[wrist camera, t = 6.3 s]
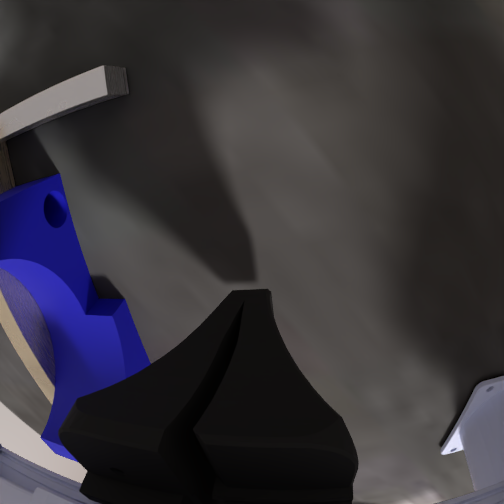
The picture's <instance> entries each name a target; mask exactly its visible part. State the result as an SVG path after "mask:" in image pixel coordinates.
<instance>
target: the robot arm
mask: <svg viewBox="0 0 504 504" xmlns="http://www.w3.org/2000/svg"><path fill="white" fill-rule="evenodd" d="M58 436H59V439H60V441H61V443H62V444H63V446H64V447H65V448H66V449H67V451H68V452H69V453H70V454H71V455H72V456H73V457H74V458H75V459H76V460H77V461H78V462H79V463H80V464H81V465H82V466H83V467H84V468H85V469H86V470H87V471H88V472H87V474H86V476H85V478H84V480H83V483H82V484H81V483H78V482H76V481H73V480H71V479H68V478H66V477H63V476H61V475H59V474H56V473H54V472H52V471H50V470H47V469H45V468H43V467H41V466H39V465H37V464H35V463H32V462H30V461H28V460H26V459H24V458H23V457H21V456H19V455H17V454H15V453H13V452H11V451H9V450H8V449H6V448H4V447H2V446H1V444H0V504H352V500H353V482H354V479H355V476H356V473H357V470H358V457H357V452H356V449H355V446H354V443H353V440H352V438H351V436H350V433H349V431H348V429H347V427H346V425H345V423H344V421H343V419H342V417H341V416H340V415H339V414H338V413H337V412H336V411H334V410H333V409H332V408H331V407H330V406H329V405H328V404H327V403H326V402H325V401H324V399H323V398H322V397H321V396H320V395H319V394H318V393H317V392H316V390H315V389H314V388H313V387H312V386H311V384H310V383H309V382H308V380H307V379H306V378H305V376H304V375H303V374H302V372H301V371H300V370H299V368H298V366H297V365H296V363H295V362H294V360H293V358H292V357H291V355H290V353H289V351H288V350H287V348H286V346H285V344H284V342H283V339H282V337H281V335H280V333H279V330H278V328H277V325H276V322H275V319H274V313H273V304H272V296H271V291H269V290H268V289H256V290H232V292H231V293H230V294H229V295H228V296H227V297H226V298H225V299H224V300H223V301H222V302H221V303H220V305H219V306H218V307H217V308H216V309H215V310H214V311H213V312H212V313H211V314H210V315H209V317H208V318H207V319H206V320H205V321H204V322H203V323H202V324H201V325H200V326H199V327H198V328H197V329H196V330H194V331H193V332H192V333H191V334H190V335H189V336H188V337H187V338H186V339H185V340H184V341H182V342H181V343H180V344H179V345H178V346H176V347H175V348H174V349H172V350H171V351H170V352H168V353H167V354H166V355H164V356H163V357H161V358H160V359H158V360H157V361H155V362H154V363H152V364H150V365H149V366H147V367H146V368H144V369H142V370H141V371H139V372H137V373H136V374H134V375H132V376H130V377H128V378H126V379H124V380H122V381H120V382H118V383H115V384H113V385H111V386H109V387H106V388H104V389H101V390H98V391H96V392H93V393H90V394H88V395H85V396H82V397H79V398H77V400H76V401H75V403H74V405H73V406H72V408H71V410H70V411H69V413H68V415H67V416H66V418H65V420H64V422H63V423H62V425H61V427H60V429H59V430H58ZM460 450H464V453H465V456H466V460H467V463H468V467H469V471H470V475H471V479H472V483H473V487H474V491H475V492H472V493H469V494H466V495H463V496H460V497H456V498H453V499H449V500H446V501H442V502H439V503H435V504H504V376H501V377H497V378H493V379H490V380H486V381H482V382H480V383H479V384H478V385H477V386H476V387H475V389H474V391H473V393H472V395H471V397H470V399H469V401H468V403H467V405H466V406H465V408H464V410H463V412H462V414H461V416H460V418H459V419H458V421H457V423H456V425H455V426H454V428H453V430H452V431H451V433H450V435H449V437H448V438H447V440H446V441H445V443H444V445H443V446H442V448H441V450H440V451H441V454H443V455H444V454H449V453H453V452H457V451H460Z"/></svg>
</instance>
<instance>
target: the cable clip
mask: <svg viewBox="0 0 504 504" xmlns="http://www.w3.org/2000/svg"><path fill="white" fill-rule="evenodd" d="M0 268H1V269H4V270H5V271H7V272H9V273H10V274H12V275H13V276H14V277H15V278H17V279H18V280H19V281H20V282H21V283H22V284H23V285H24V286H25V287H26V289H27V290H28V291H29V292H30V293H31V295H32V296H33V298H34V299H35V301H36V303H37V304H38V306H39V308H40V310H41V312H42V314H43V316H44V319H45V321H46V324H47V327H48V330H49V333H50V337H51V341H52V346H53V352H54V360H55V391H54V399H53V404H52V409H51V413H50V416H49V419H48V422H47V425H46V427H45V429H44V431H43V433H42V435H41V439H42V440H43V441H44V442H45V443H46V444H47V445H48V446H49V447H50V448H51V449H52V450H53V452H54V453H56V454H58V455H60V456H63V457H66V458H68V459H71V460H74V461H77V460H76V459H75V458H74V457H73V456H72V455H71V454H70V453H69V452H68V451H67V449H66V448H65V447H64V446H63V444H62V443H61V441H60V439H59V436H58V430H59V429H60V427H61V425H62V423H63V422H64V420H65V418H66V416H67V415H68V413H69V411H70V410H71V408H72V406H73V405H74V403H75V401H76V400H77V398H79V397H82V396H85V395H88V394H90V393H93V392H96V391H98V390H101V389H104V388H106V387H109V386H111V385H113V384H115V383H118V382H120V381H122V380H124V379H126V378H128V377H130V376H132V375H134V374H136V373H137V372H139V371H141V370H142V369H144V368H146V367H147V366H149V365H150V364H151V363H150V361H149V359H148V356H147V354H146V352H145V349H144V347H143V344H142V342H141V340H140V337H139V335H138V332H137V330H136V327H135V324H134V322H133V319H132V317H131V314H130V311H129V309H128V306H127V303H126V300H125V299H99V298H98V295H97V293H96V290H95V287H94V285H93V282H92V279H91V277H90V274H89V271H88V268H87V265H86V262H85V260H84V257H83V254H82V251H81V248H80V244H79V241H78V238H77V235H76V232H75V228H74V225H73V222H72V218H71V215H70V211H69V208H68V204H67V200H66V196H65V192H64V188H63V184H62V180H61V176H60V173H59V174H56V175H52V176H49V177H45V178H42V179H38V180H35V181H32V182H28V183H25V184H22V185H19V186H16V187H14V188H12V189H10V190H8V191H6V192H4V193H2V194H0ZM77 462H78V461H77Z"/></svg>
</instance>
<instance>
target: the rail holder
mask: <svg viewBox="0 0 504 504" xmlns="http://www.w3.org/2000/svg"><path fill="white" fill-rule="evenodd" d="M127 94H129V88H128V81H127V73H126V68H125V67H116V66H106V65H103V66H100V67H98V68H95V69H92V70H90V71H87V72H85V73H82V74H80V75H77V76H75V77H73V78H70V79H68V80H66V81H63V82H61V83H59V84H57V85H55V86H52V87H50V88H48V89H46V90H44V91H42V92H40V93H38V94H36V95H34V96H32V97H30V98H28V99H26V100H24V101H22V102H20V103H19V104H17V105H15V106H13V107H11V108H9V109H8V110H6V111H4V112H2V113H1V114H0V194H2V193H4V192H6V191H8V190H10V189H12V188H14V187H16V185H15V181H14V177H13V172H12V168H11V163H10V159H9V154H8V149H7V144H6V141H7V140H9V139H11V138H13V137H15V136H17V135H19V134H21V133H24V132H26V131H28V130H30V129H33V128H35V127H37V126H40V125H42V124H44V123H47V122H49V121H52V120H54V119H57V118H59V117H62V116H64V115H67V114H69V113H72V112H75V111H78V110H80V109H83V108H86V107H89V106H92V105H95V104H98V103H101V102H104V101H107V100H110V99H113V98H117V97H120V96H123V95H127ZM0 323H1V324H2V326H3V328H4V330H5V332H6V334H7V336H8V337H9V339H10V341H11V343H12V344H13V346H14V348H15V349H16V351H17V353H18V355H19V356H20V358H21V359H22V361H23V363H24V364H25V366H26V367H27V369H28V371H29V372H30V374H31V375H32V377H33V378H34V380H35V381H36V383H37V384H38V386H39V387H40V388H41V390H42V391H43V393H44V394H45V396H46V397H47V398H48V400H49V401H50V402H51V404H53V399H54V391H55V360H54V352H53V346H52V341H51V337H50V333H49V330H48V327H47V324H46V321H45V319H44V316H43V314H42V312H41V310H40V308H39V306H38V304H37V303H36V301H35V299H34V298H33V296H32V295H31V293H30V292H29V291H28V290H27V289H26V287H25V286H24V285H23V284H22V283H21V282H20V281H19V280H18V279H17V278H15V277H14V276H13V275H12V274H10V273H9V272H7V271H5V270H4V269H1V268H0Z"/></svg>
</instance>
